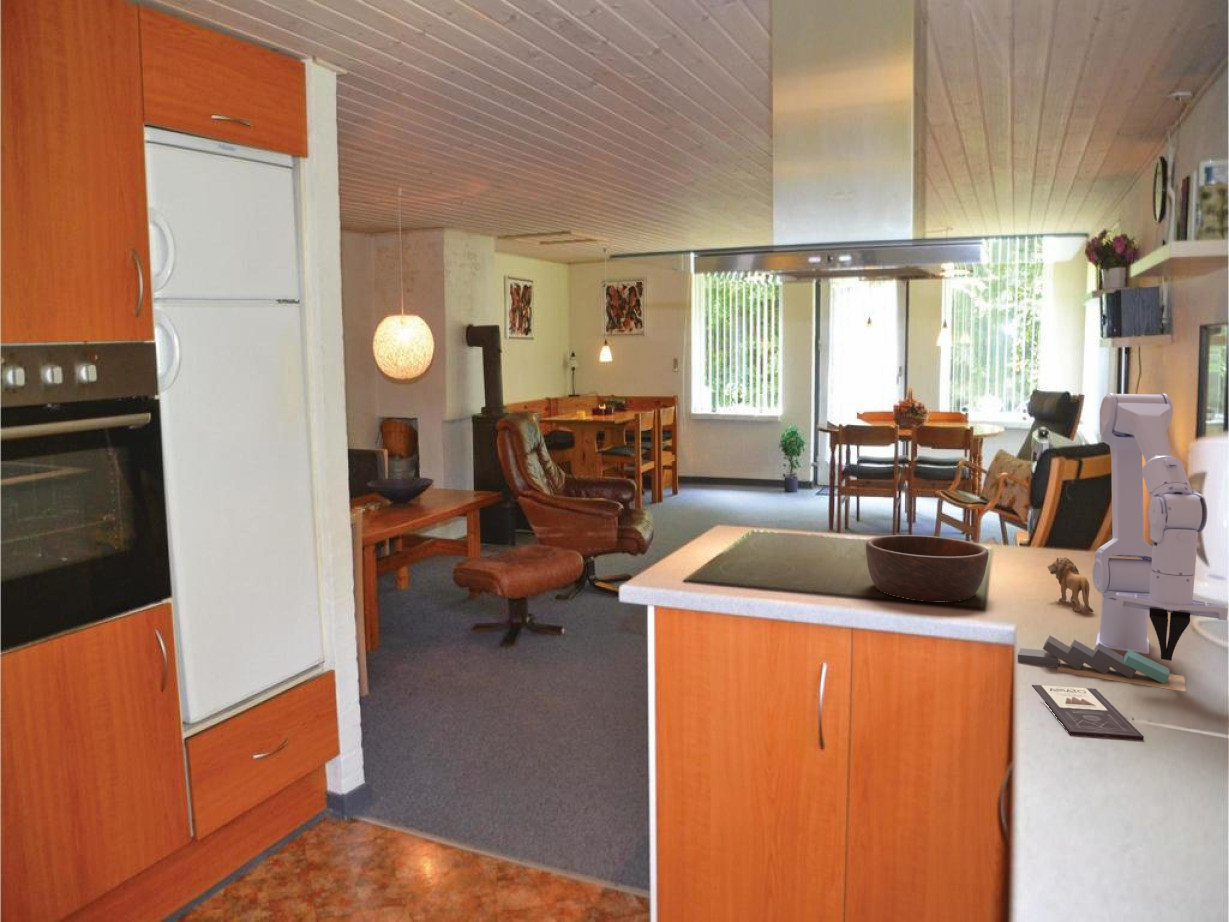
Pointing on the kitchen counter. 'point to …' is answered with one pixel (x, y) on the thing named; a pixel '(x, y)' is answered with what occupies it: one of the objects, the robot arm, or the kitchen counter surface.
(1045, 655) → the domino
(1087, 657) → the domino
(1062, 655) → the domino
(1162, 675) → the domino
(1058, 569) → the lion figurine
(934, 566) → the wooden bowl
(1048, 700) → the chocolate bar
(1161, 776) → the kitchen counter surface
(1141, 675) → the cork strip
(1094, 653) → the domino
